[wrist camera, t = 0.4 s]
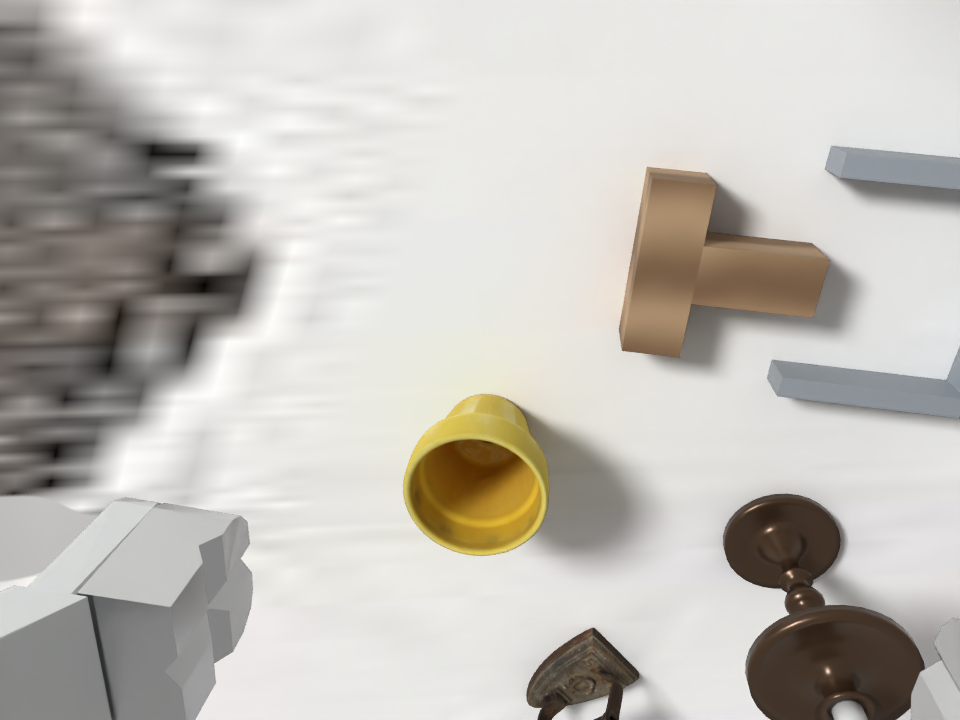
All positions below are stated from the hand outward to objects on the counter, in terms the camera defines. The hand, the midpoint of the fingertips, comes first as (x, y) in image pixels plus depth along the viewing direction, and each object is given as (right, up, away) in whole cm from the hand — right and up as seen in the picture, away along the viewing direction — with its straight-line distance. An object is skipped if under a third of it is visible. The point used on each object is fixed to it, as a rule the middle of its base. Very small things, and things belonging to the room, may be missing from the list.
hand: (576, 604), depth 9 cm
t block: (+16, +10, +43) cm, 46 cm away
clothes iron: (+8, -27, +61) cm, 67 cm away
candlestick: (+24, -12, +52) cm, 58 cm away
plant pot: (0, -3, +51) cm, 51 cm away
